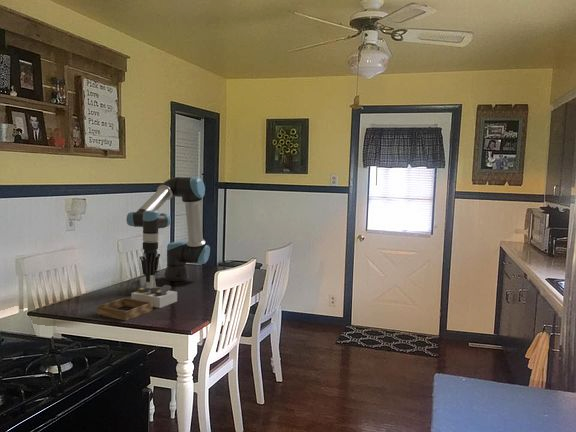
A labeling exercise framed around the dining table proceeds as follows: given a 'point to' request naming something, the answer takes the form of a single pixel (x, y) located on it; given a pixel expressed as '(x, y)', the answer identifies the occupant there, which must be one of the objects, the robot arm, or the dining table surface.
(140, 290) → the rocker
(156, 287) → the rocker
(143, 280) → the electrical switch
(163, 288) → the rocker
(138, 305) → the tray
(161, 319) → the dining table surface
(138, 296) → the switch unit
